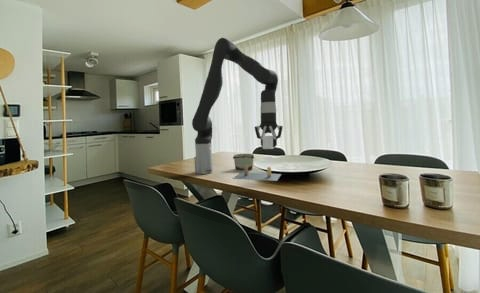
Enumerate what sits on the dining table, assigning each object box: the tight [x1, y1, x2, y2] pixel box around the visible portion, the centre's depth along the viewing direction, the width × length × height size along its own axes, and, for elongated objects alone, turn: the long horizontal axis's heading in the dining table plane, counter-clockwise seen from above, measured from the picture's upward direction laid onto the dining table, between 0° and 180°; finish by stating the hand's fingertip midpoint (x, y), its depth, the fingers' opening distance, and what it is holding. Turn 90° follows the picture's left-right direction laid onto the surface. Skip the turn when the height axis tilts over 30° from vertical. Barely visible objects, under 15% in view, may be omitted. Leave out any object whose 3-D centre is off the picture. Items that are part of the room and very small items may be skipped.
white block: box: [262, 135, 276, 150], centre depth 116 cm, size 5×5×6 cm
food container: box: [232, 153, 255, 171], centre depth 139 cm, size 12×6×10 cm, turn 84°
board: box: [232, 166, 282, 182], centre depth 120 cm, size 22×14×6 cm, turn 72°
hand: (268, 146), depth 116 cm, fingers closed on white block, 5 cm apart
